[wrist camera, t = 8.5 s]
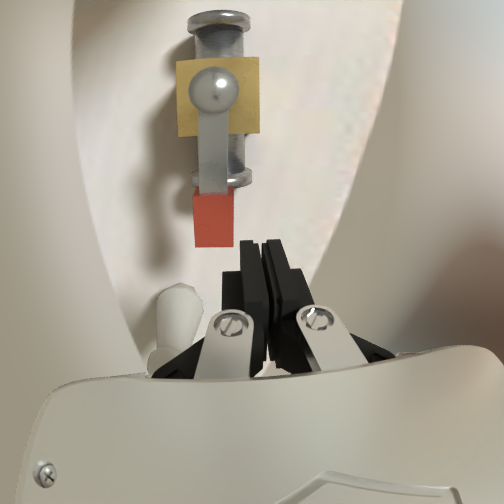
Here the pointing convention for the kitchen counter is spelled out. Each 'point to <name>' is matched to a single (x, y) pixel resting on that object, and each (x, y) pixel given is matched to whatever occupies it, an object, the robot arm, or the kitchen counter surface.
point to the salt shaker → (175, 323)
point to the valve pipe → (243, 68)
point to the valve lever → (213, 156)
